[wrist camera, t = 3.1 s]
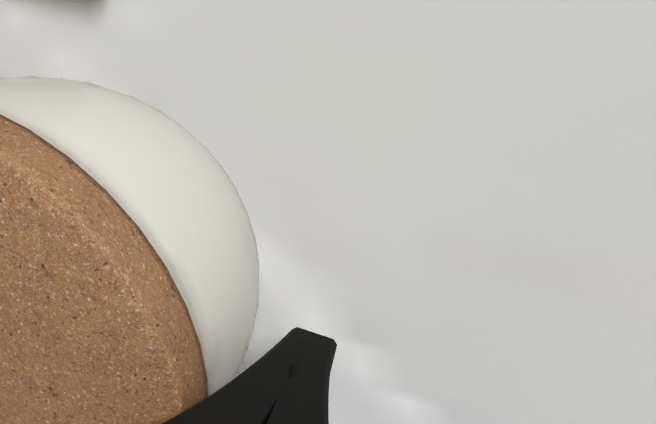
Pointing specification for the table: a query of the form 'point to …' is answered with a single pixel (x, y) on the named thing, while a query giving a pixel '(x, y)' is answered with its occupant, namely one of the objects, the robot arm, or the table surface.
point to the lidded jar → (115, 260)
